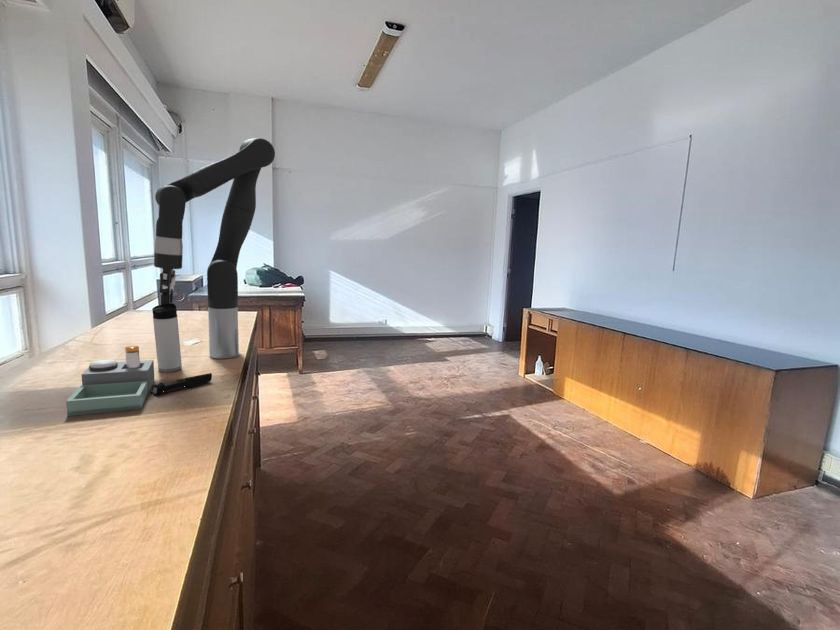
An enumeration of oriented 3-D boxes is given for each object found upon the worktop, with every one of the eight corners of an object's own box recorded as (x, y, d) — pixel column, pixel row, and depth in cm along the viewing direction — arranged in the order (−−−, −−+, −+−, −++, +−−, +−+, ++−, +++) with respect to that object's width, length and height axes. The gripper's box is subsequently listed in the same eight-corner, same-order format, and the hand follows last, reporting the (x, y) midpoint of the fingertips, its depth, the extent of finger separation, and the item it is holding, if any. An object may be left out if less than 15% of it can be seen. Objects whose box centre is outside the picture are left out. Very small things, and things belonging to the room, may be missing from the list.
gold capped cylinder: (142, 385, 118) (139, 345, 116) (140, 388, 115) (137, 348, 113) (129, 386, 117) (126, 346, 115) (126, 389, 114) (124, 348, 112)
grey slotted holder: (154, 380, 122) (153, 355, 121) (148, 392, 113) (147, 365, 112) (94, 384, 116) (92, 358, 115) (83, 397, 107) (80, 369, 106)
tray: (148, 393, 112) (147, 380, 111) (140, 409, 102) (140, 395, 102) (82, 398, 106) (81, 385, 106) (67, 416, 96) (66, 401, 96)
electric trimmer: (215, 384, 123) (214, 373, 122) (156, 397, 110) (155, 386, 110) (208, 381, 125) (208, 371, 124) (149, 394, 112) (149, 382, 112)
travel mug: (186, 365, 135) (181, 303, 130) (173, 373, 129) (167, 309, 123) (168, 363, 135) (162, 302, 130) (153, 371, 129) (146, 307, 124)
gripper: (180, 255, 127) (178, 308, 130) (184, 252, 140) (182, 301, 142) (150, 252, 124) (149, 307, 126) (157, 250, 137) (156, 300, 139)
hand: (167, 304), depth 134 cm, fingers open, 8 cm apart
